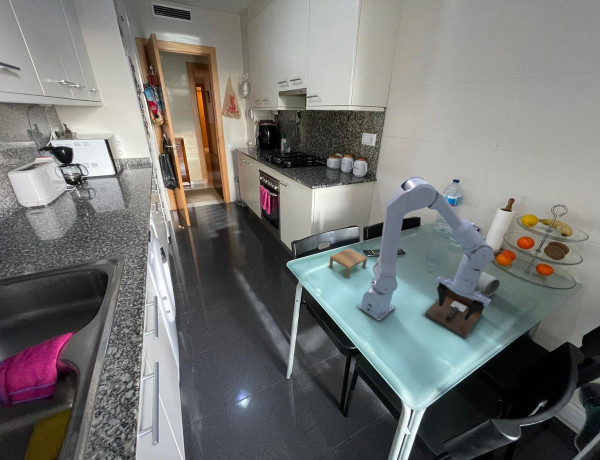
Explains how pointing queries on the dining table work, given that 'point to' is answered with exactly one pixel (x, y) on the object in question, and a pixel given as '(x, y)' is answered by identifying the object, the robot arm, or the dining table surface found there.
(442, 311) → the lower shelf
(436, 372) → the dining table surface
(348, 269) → the upper shelf
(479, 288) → the ceramic mug
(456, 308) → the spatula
